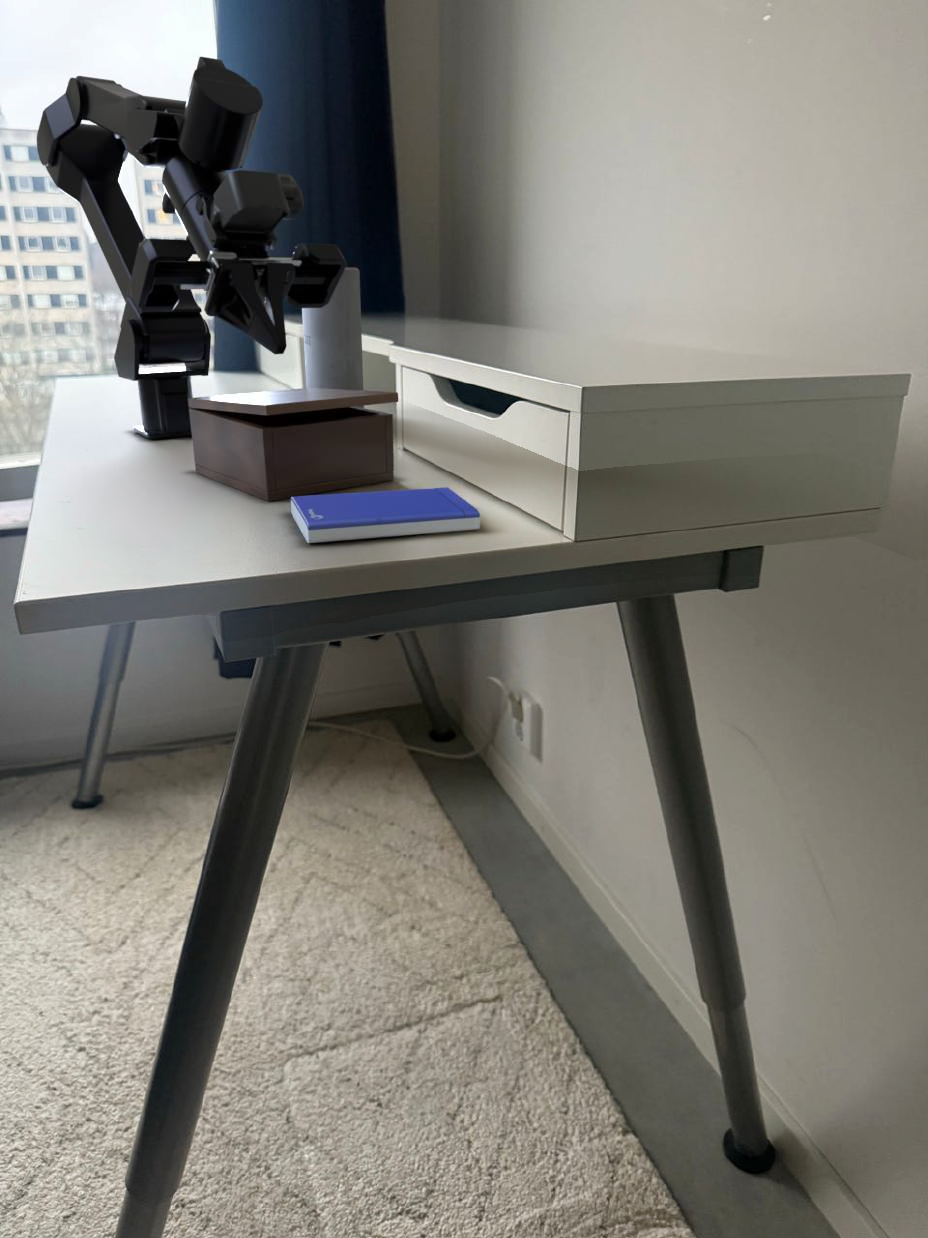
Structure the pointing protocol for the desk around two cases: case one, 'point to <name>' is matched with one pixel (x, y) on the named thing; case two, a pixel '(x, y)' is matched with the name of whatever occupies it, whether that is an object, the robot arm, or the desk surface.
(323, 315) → the flask
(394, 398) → the lid
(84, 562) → the desk surface
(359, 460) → the keepsake box
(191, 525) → the desk surface
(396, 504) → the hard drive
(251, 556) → the desk surface
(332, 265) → the robot arm
